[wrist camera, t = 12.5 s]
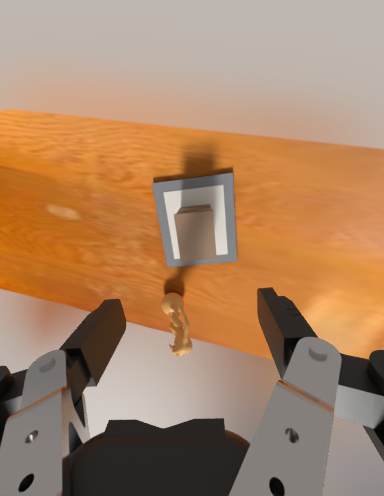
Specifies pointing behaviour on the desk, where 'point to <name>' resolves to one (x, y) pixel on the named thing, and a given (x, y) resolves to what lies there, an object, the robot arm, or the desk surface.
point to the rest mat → (191, 194)
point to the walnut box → (195, 233)
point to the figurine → (177, 323)
